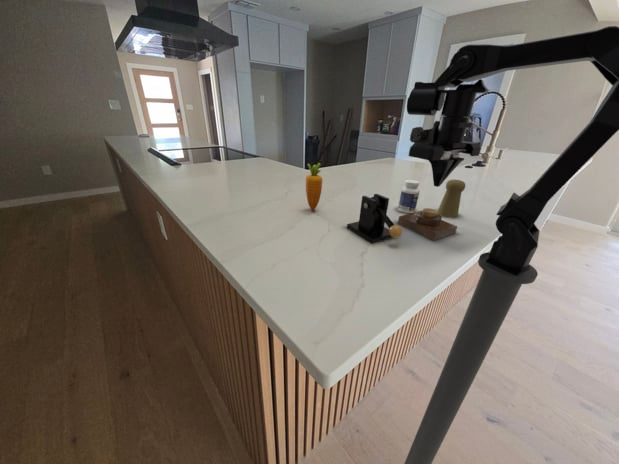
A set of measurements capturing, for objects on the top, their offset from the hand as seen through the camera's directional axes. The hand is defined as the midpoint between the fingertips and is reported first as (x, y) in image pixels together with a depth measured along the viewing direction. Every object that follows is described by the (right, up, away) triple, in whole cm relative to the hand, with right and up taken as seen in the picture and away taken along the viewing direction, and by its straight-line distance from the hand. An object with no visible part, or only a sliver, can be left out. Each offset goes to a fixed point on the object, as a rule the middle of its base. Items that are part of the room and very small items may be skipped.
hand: (436, 186), depth 63 cm
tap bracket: (-15, -11, +5) cm, 20 cm away
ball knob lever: (-13, -9, +1) cm, 16 cm away
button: (+1, -7, +7) cm, 10 cm away
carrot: (-30, -5, +18) cm, 36 cm away
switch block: (+1, -10, +9) cm, 13 cm away
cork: (+13, -6, +19) cm, 24 cm away
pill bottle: (0, -4, +21) cm, 21 cm away
